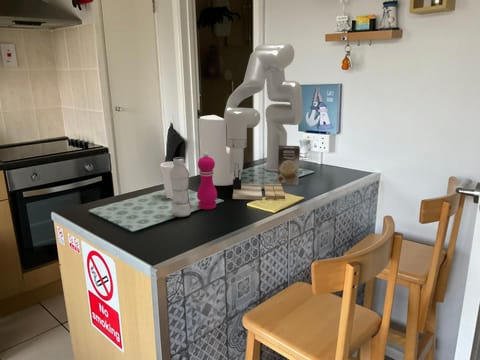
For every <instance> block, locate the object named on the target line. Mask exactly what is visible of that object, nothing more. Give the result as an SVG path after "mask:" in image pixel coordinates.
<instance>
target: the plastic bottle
mask: <svg viewBox="0 0 480 360" xmlns="http://www.w3.org/2000/svg"><path fill="white" fill-rule="evenodd" d="M172 160H173V161H172V162H173V164H174V166H173V168H172V169H171V171H170V180H171V185H172V193H173V197H172V199H171V201H172V202H171V213H172V214H173V216H174V217H177V218H184V217H188V216H190V215H191V212H192V206H191V205H192V204H191V202H190V201H191V200H190V195H189V185H190V184H189V183H190V171H189V170H188V168H187V167H186V161H185V157H183V156H178V157H176V156H175V157H173V159H172ZM184 164H185V166H184Z"/></svg>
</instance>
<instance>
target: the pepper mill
mask: <svg viewBox="0 0 480 360" xmlns="http://www.w3.org/2000/svg"><path fill="white" fill-rule="evenodd" d="M203 156H204V157H202V158H201V157H200V158H199V159H198V161H197V168H198V169H199V176H200V185H199V187H198V190H197V193H196V196H197V197H196V198H197V199H198V200H199V202H198V208H199V209H202V210H212V209H215V208H216V207H217V201H216V199H217V198H218V192H217V189H216V187H215V185H214V184H213V180H212V176H213V174H214V173H213V172H214V171H213V168H214V167H215V162H214V160H213V159H212V158H211V157H208V156H209V155H208V153H204V155H203Z"/></svg>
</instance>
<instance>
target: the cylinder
mask: <svg viewBox="0 0 480 360" xmlns="http://www.w3.org/2000/svg"><path fill="white" fill-rule="evenodd" d="M199 133H200V135H199V136H200V158H202V157H204V156H203V155H204V153H208V155H209V156H208V157H211V158H212V159H213V160H214V162H215V167H214V168H213V171H214V172H213V173H214V174H213V176H212V180H213V184H214V186H230V185H231V186H233V173H231V174H230V157H229V156H230V148H228V147H227V124H226V123H225V120H224V117H220V116H218V115H216V114H211V115H203V116H199ZM240 179H241V180H242V177H241V178H240Z"/></svg>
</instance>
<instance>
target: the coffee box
mask: <svg viewBox="0 0 480 360" xmlns="http://www.w3.org/2000/svg"><path fill="white" fill-rule="evenodd" d="M300 154H301V147H300V145H287V146H283V145H279V148H278V172H276V173H277V177H276V184H282V185H283V186H284V185H285V186H299V177H300V173H299V172H300V157H301V156H300Z"/></svg>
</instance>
